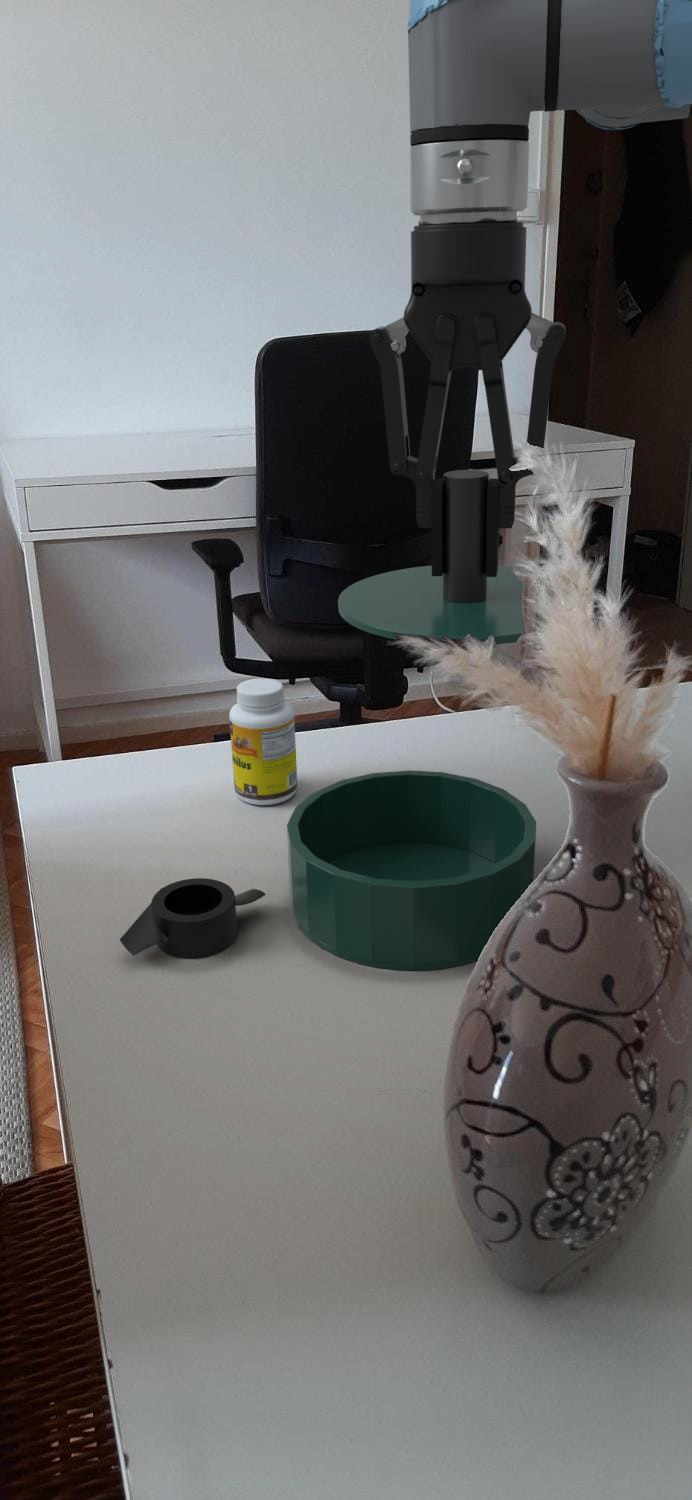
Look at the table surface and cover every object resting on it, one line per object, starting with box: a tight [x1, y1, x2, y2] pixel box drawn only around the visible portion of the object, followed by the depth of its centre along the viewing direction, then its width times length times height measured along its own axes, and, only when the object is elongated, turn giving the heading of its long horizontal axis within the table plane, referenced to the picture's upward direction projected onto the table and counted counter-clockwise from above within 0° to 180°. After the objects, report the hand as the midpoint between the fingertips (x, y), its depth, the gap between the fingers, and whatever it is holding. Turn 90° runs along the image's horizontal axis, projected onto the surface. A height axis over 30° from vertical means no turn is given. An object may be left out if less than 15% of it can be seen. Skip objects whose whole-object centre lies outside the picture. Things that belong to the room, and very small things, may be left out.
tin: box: [286, 769, 537, 971], centre depth 83 cm, size 18×18×6 cm
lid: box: [337, 469, 523, 645], centre depth 83 cm, size 19×19×10 cm
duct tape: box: [119, 877, 266, 959], centre depth 81 cm, size 8×10×3 cm
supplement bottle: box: [228, 677, 298, 806], centre depth 99 cm, size 6×6×10 cm
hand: (465, 571), depth 84 cm, fingers closed on lid, 3 cm apart
